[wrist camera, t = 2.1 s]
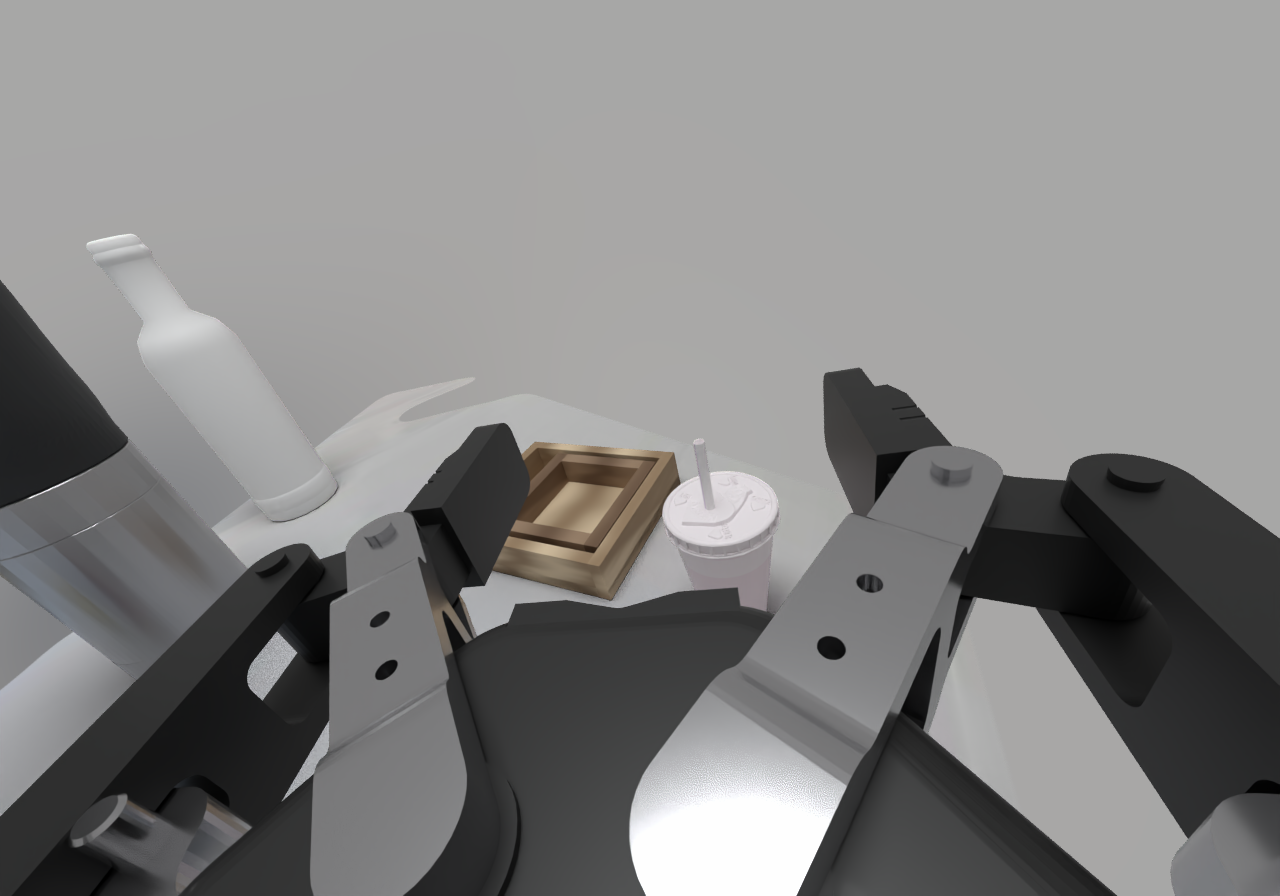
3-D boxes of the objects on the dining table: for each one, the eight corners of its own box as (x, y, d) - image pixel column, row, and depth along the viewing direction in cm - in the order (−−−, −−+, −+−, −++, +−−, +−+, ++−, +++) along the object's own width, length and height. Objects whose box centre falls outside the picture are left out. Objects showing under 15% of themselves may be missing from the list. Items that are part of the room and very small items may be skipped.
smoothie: (670, 610, 32) (624, 438, 25) (744, 566, 34) (722, 394, 27) (726, 683, 27) (688, 494, 20) (810, 626, 29) (803, 435, 22)
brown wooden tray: (455, 561, 42) (439, 531, 40) (545, 468, 52) (535, 441, 50) (611, 600, 34) (599, 566, 32) (680, 483, 44) (673, 452, 43)
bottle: (342, 473, 61) (178, 225, 46) (335, 503, 55) (142, 227, 40) (276, 498, 59) (80, 248, 44) (260, 532, 53) (25, 253, 37)
